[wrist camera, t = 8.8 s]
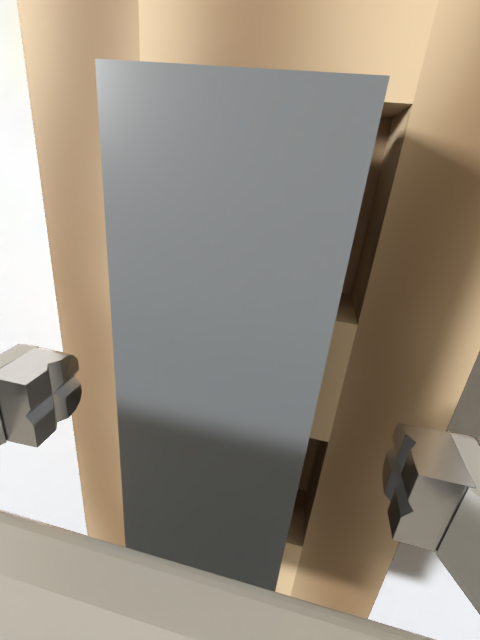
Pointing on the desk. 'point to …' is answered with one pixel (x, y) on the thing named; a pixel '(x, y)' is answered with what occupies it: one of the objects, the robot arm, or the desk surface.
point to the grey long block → (225, 291)
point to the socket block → (364, 262)
